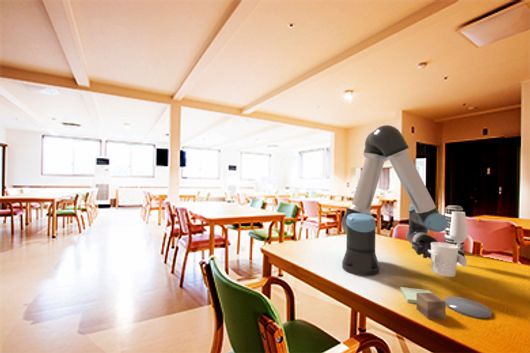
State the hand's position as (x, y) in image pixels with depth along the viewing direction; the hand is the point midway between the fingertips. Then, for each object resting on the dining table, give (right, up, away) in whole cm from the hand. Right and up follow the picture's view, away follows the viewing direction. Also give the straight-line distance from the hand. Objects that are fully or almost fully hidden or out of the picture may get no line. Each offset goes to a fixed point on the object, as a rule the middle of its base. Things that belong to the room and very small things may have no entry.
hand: (450, 260), depth 80 cm
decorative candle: (+41, -13, +51) cm, 67 cm away
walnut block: (-14, -12, -11) cm, 21 cm away
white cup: (+1, -6, +5) cm, 8 cm away
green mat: (-11, -12, -1) cm, 16 cm away
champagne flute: (+29, -13, +32) cm, 45 cm away
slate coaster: (-1, -12, -7) cm, 14 cm away
